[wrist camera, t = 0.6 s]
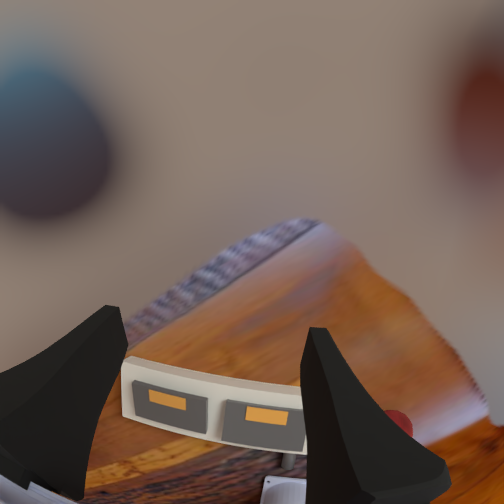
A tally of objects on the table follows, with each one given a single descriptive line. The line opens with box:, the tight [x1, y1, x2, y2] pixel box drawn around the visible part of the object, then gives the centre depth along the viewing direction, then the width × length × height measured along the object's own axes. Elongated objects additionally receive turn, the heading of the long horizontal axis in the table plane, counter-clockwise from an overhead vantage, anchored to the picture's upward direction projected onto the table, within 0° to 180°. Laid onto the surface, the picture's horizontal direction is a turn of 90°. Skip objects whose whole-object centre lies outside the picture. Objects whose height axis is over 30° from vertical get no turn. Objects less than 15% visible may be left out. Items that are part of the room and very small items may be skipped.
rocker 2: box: [221, 399, 306, 452], centre depth 30 cm, size 5×9×1 cm, turn 84°
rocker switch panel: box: [121, 356, 307, 470], centre depth 33 cm, size 12×25×3 cm, turn 83°
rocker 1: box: [132, 380, 208, 434], centre depth 32 cm, size 5×9×1 cm, turn 83°
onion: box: [384, 410, 413, 437], centre depth 28 cm, size 6×6×8 cm
